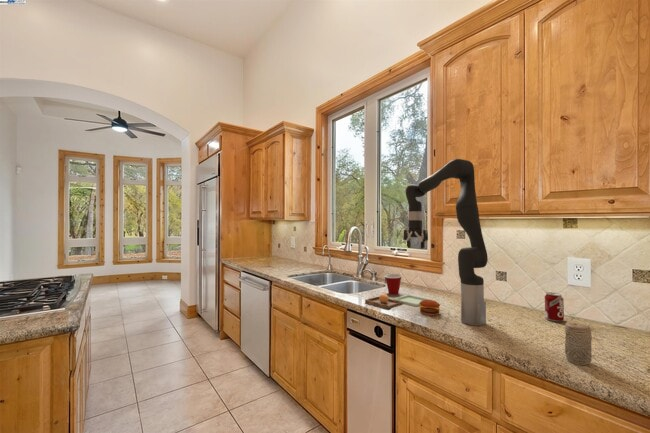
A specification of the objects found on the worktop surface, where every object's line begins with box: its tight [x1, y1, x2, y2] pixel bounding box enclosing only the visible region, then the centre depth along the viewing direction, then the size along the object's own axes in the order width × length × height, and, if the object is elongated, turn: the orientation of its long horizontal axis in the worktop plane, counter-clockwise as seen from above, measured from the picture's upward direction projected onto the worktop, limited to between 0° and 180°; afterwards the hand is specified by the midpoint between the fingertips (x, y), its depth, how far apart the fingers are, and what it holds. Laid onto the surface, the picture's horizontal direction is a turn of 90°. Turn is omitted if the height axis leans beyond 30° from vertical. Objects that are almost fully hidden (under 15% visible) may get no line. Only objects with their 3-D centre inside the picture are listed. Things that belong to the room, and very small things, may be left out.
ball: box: [379, 293, 389, 303], centre depth 159 cm, size 5×5×5 cm
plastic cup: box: [383, 273, 403, 296], centre depth 181 cm, size 11×11×12 cm
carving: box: [564, 321, 593, 366], centre depth 92 cm, size 6×8×12 cm
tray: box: [364, 295, 403, 310], centre depth 159 cm, size 16×12×2 cm
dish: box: [392, 294, 433, 308], centre depth 162 cm, size 15×15×2 cm
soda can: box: [544, 291, 565, 323], centre depth 132 cm, size 7×7×12 cm
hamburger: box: [419, 299, 441, 317], centre depth 142 cm, size 9×10×7 cm
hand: (415, 248), depth 166 cm, fingers open, 8 cm apart
